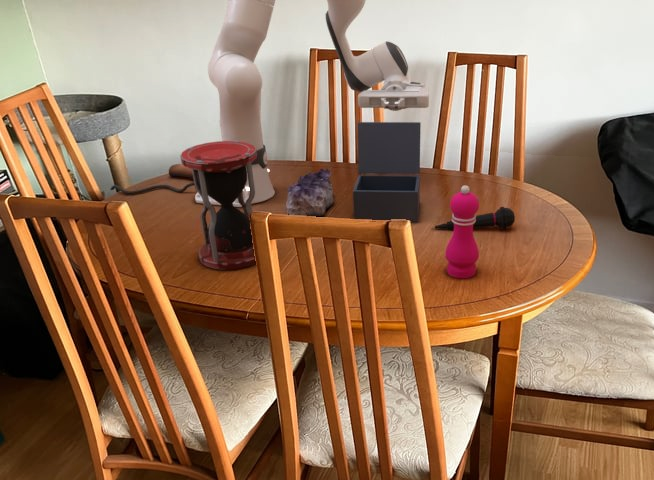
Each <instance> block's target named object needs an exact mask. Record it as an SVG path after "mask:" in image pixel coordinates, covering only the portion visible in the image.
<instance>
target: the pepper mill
mask: <svg viewBox="0 0 654 480" xmlns="http://www.w3.org/2000/svg"><path fill="white" fill-rule="evenodd" d="M470 189H471V188H470V186H468V185H466V184H465V185H462V187H461V188H460V191H459V192H457V193H455V194H453V196H452V197H451V199H450V202H449V208H450V210H451V212H452V214H451V220H452V222H453V223H454V229H453V232H452V236H451V237H450V240H449V242H448V243H447V245H446V248H445V255H444V256H445V259H446V261H447V265H446V273H447V274H448V276H450V277H452V278H455V279H469V278H472V277H473V276H474V275H476V272H477V270H476V269H477V266H476V265H477V264H476V263H477V262H478V260H479V258H480V250H479V246H478V244H477V241H476V239H475V236H474V228H473V224H474V223H475V222H476V219H475V218H476V216H477V215H476V214H477V212H478V211H479V208H480V201H479V198H478V197H477V196H476V195H475V194H474V193H473V192H471V190H470Z"/></svg>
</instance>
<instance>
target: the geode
mask: <svg viewBox="0 0 654 480" xmlns="http://www.w3.org/2000/svg"><path fill="white" fill-rule="evenodd" d="M331 175H332V172H331V171H330V169H329V168H326V169H323V168H320V169H319V170H317V172H314V173H313V172H309V173H308V174H304V175H299V179H298V180H297V182H295V183H294V184H292V185H289V186H288V188H287V199H286V201H285V204H286V205H285V208H286V215H287V214H291V215H307V217H320V216H324V215H325V214H326V210H327V209H329V208H330V207H331V206H333V205H334V203H335V199H334V189H333V187H332V186H333V184H332V180H331Z"/></svg>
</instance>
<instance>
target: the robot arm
mask: <svg viewBox="0 0 654 480" xmlns="http://www.w3.org/2000/svg"><path fill="white" fill-rule="evenodd" d="M366 1H367V0H326V2H327V11H326V12H325V23H326V26H327V29H328V33H329V36H330V39H331V42H332V44H333V46H334V49H335V52H336V54H337V56H338V59H339V63H340V65H341V67H342V70H343V73H344V79H345V81H346V84H347V85H348V87H349V88H350V89H351V90H352V91H355V92H358V95H357V105H358V108H361V109H384V110H390V111H392V112H398V111H401V110H406V109H426V108H429V106H430V93H429V90H428V89H427V88H426V86H425V83H423V82H415V81H411V80H412V79H411V78H410V77H409V75H408V72H409V65H408V62H407V59H406V57H405V55H404V53H403V51H402V49H401V48H400V47H399V46H398V45H396V44H395V43H393V42H391V41H389V40H387V41H384V42H382V43H380V44H378V45H377V46H374V47H373V48H371V49H369V50H368V51H365V52H364V53H362V54H359V55H357V56H356V55H354V54H353V51H352V49H351V46H350V44H349V40H348V38H347V36H346V34H347V33H346V32H347V30H348V29H349V27H350V25H352V22H354V20H356V18H357V17H358V16H359V15H360V13H361V11H362V10H363V8H364V7H365V4H366ZM275 4H276V0H228V2H227V6H226V10H225V15H224V18H223V22H222V25H221V28H220V31H219V34H218V36H217V38H216V42H215V44H214V47H213V50H212V53H211V56H210V58H209V60H208V64H207V75H208V77H209V80H210V82H211V83H212V85H213V86H214V87H215V88H217V89H216V90H217V91H218V98H219V99H218V101H219V119H218V123H219V129H220V136H221V141H240V142H246V143H249V144H252V145H254V146H255V147H256V150H257V158H256V159H255V160H254V161H253V162H251V164H252V172H253V179H254V187H255V196H254V199H253V200H252V202H251V205H253V204H257V203H261V202H262V203H263V202H265V201H267V200H269V199H271V198H273V197H274V196H275V194H276V191H275V189H274V187H273V184H272V181H271V178H270V173H269V172H270V168H268V155H267V150H266V145H265V144H264V136H263V130H262V129H263V128H262V121H261V120H262V117H261V109H262V108H261V107H262V88H263V78H262V75H261V71H260V70H259V68H258V66H257V65H256V63H255V61H256V58H257V55H258V53H259V51H260V49H261V47H262V45H263V43H264V42H265V40H266V38H267V35H268V32H269V28H270V23H271V20H272V15H273V12H274V8H275ZM380 83H383V85H382V86H381V88H380V89H371V88H373V87H374V86H376V85H379V84H380ZM246 169H247V167H246ZM192 186H195V184H194V181H193V182H190V183H187V184H186V185H184V186H183V187H182V188H175V187H174V186H171V185H168V184H156V185H152V186H147V187H144V188H141V189H137V190H127V189H126V190H125V189H124V188H122V187H121V186H120V185H118V184H113V185H112V186H111V188H110V189H109V190H110V191H114V190H115V189H116V190H118V191H120V192H121V193H123V194H127V195H137V194H141V193H144V192H148V191H152V190H156V189H165V188H166V189H169V190H172V191H173V192H176V193H184V192H185V191H186V190H187V189H188V188H190V187H192ZM249 194H250V189H249V182H248V174H247V182H246V185H245V188H244V189H243V198H244V202H245V203H246V200H247V199H248V198H249ZM208 198H209V201H210V203H211V205H212V206H213V205H214V206H221V204H220V203H218V202H217V201H215V200H214V199H212V198H211V197H210V196H208ZM194 201H195V203H197V204H203V205H204V203H203V200H202V197H201V195H200V194H199V193H198V192H197V191H196V193H195V195H194ZM233 206H234V207H236V208H243V207H242V205H241V204H240V203H239V201H238V198H237V199H236V200H235V201H234V202H233Z"/></svg>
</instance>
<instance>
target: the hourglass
mask: <svg viewBox="0 0 654 480" xmlns="http://www.w3.org/2000/svg"><path fill="white" fill-rule="evenodd" d="M179 155H180V162H181V164H183V166H185V167H187V168H189V169H192V173H193V178H192V179H193V182H194V184H195V185H194V187H195V189H196V193H197V192H198V193H199V194H200V195H201V197H202V200H203V203H204V204H203V203H202V204H203V208H202V210H201V212H200V222H201V228H202V232H203V238H204V239H203V240H204V244H203V245H202V246H201V247H200V248H199V250H198V257H199V260H200V263H201V264H203V266H205V267H207V268H211V269H214V270H223V271H228V270H229V271H231V270H240V269H245V268H249V267H252V266H254V265H257V264H256V261H255V256H254V249H253V243H252V235H251V229H250V220H251V219H250V220H249V214H250V213H251V212H253V209H252V204H251V202H252V200H253V199H254V196H255V187H254V179H253V172H252V164H251V162H253V161H254V160H255V159H256V158H257V150H256V147H255V146H254V145H252V144H249V143H246V142H240V141H222V140H219V141H211V142H205V143H201V144H196V145H193V146H191V147H188V148H186V149H185V150H182V152H181V153H180V154H179ZM246 167H247V169H246ZM247 174H248V182H249V189H250V194H249V198H248V199H247V200H246V203H245V202H244V198H243V189H244V188H245V185H246V182H247ZM208 196H210V197H211V198H212V199H214V200H215V201H217V202H218V203H220V204H221V205H220V208H219V209H218V210H217V211H216V208H215V206H213V204H211V203H210V201H209V198H208ZM237 198H238V201H239V203H240V204H241V205H242V207H241V208H242V211H241V210H240V209H239V208H238V207H234V206H233V202H234V201H235V200H236V199H237ZM207 212H209V220H210V221H209V224H208V221H207Z"/></svg>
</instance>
